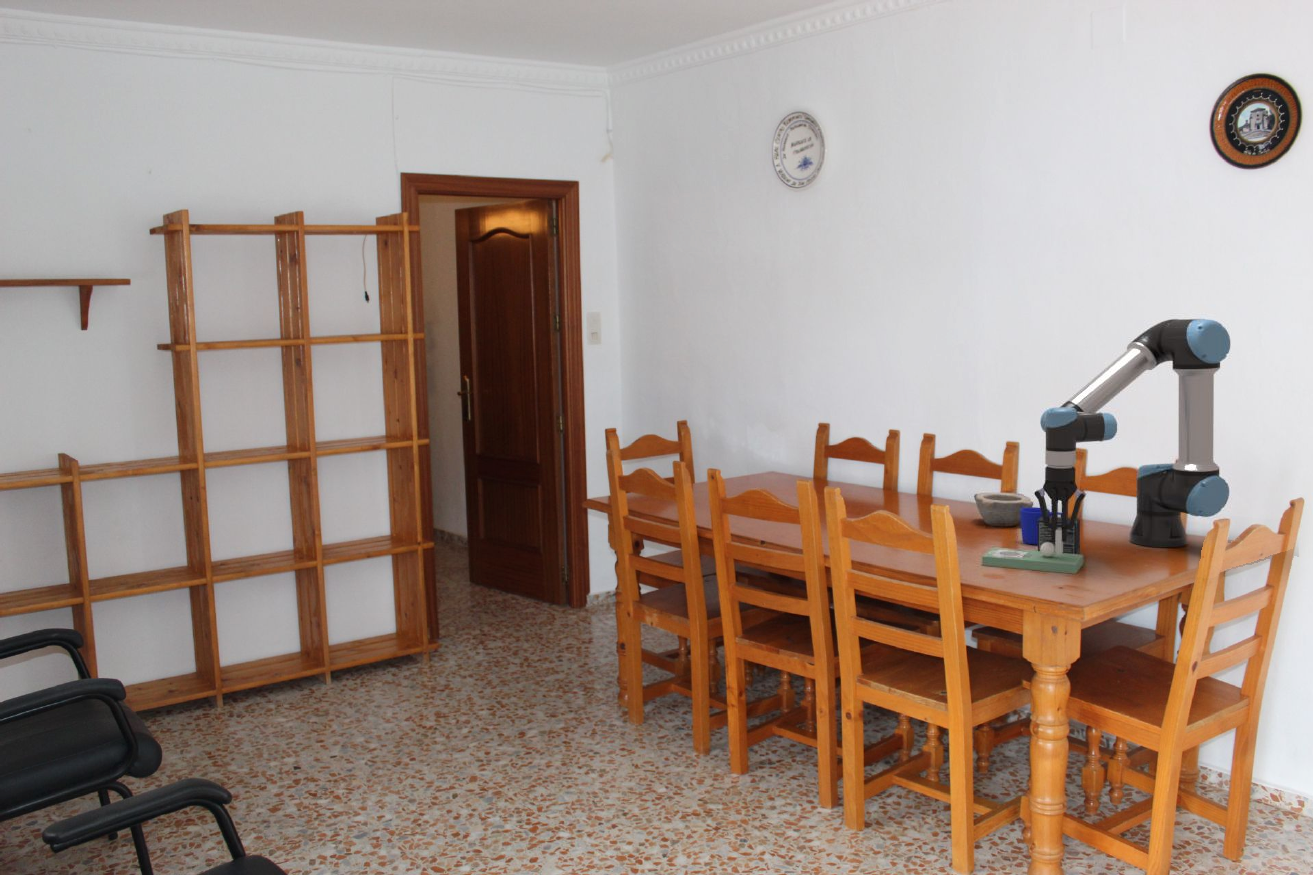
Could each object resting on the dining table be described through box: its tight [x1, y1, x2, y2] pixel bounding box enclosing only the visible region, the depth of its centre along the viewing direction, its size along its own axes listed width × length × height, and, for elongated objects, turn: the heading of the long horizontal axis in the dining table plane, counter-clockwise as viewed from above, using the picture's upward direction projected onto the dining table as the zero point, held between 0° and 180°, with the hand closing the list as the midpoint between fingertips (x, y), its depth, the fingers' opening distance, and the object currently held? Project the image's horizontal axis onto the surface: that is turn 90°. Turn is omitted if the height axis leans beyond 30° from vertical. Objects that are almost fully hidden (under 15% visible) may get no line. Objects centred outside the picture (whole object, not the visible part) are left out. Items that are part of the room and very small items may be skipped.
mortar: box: [973, 492, 1035, 528], centre depth 339 cm, size 17×17×9 cm
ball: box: [1040, 542, 1055, 557], centre depth 283 cm, size 4×4×4 cm
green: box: [981, 546, 1084, 575], centre depth 286 cm, size 24×12×2 cm, turn 59°
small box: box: [1037, 517, 1081, 555], centre depth 295 cm, size 11×6×10 cm, turn 59°
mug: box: [1020, 506, 1062, 546], centre depth 310 cm, size 8×12×10 cm
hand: (1059, 552), depth 282 cm, fingers closed
